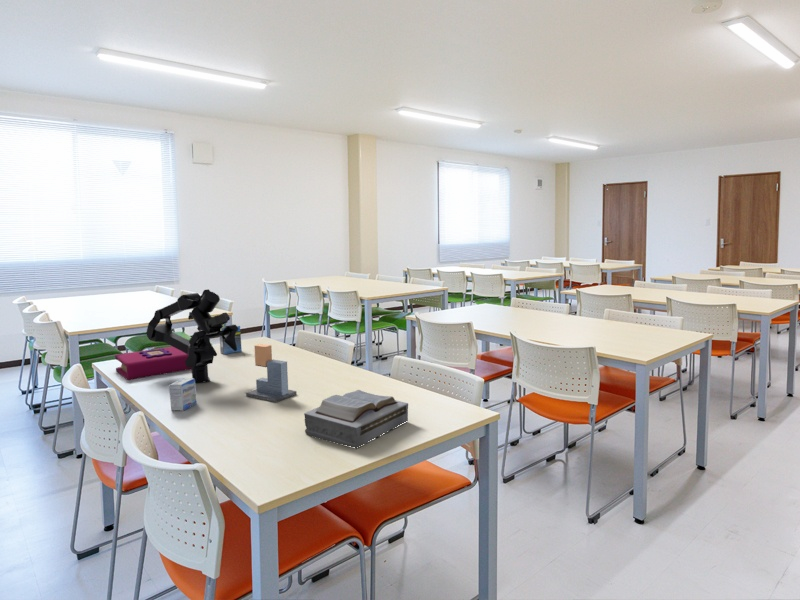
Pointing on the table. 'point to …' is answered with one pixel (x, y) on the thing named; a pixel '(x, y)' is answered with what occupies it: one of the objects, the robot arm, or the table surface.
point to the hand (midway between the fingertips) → (226, 352)
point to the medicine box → (182, 394)
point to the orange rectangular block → (262, 354)
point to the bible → (355, 417)
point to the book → (151, 362)
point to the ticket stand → (273, 383)
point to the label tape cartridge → (225, 347)
